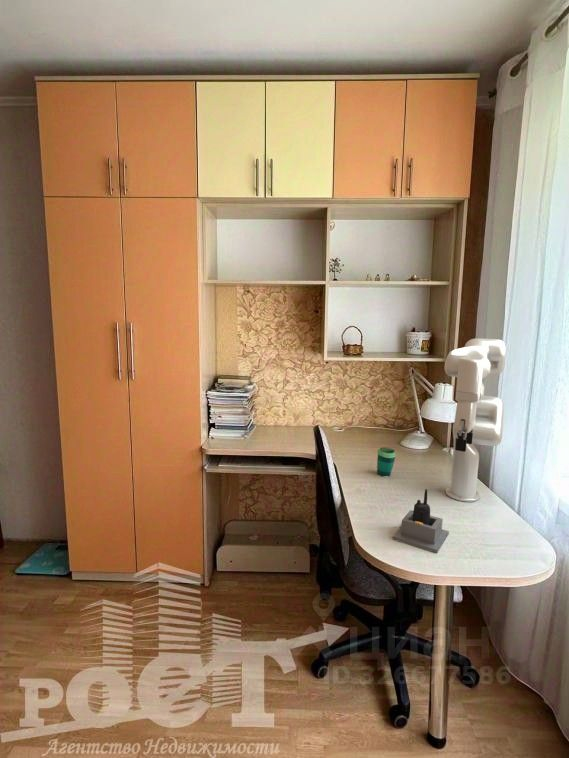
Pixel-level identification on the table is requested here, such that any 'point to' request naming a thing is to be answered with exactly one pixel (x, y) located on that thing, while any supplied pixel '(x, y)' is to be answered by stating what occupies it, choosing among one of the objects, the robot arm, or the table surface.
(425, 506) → the two-way radio
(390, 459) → the cup
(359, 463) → the table surface
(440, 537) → the charging dock
